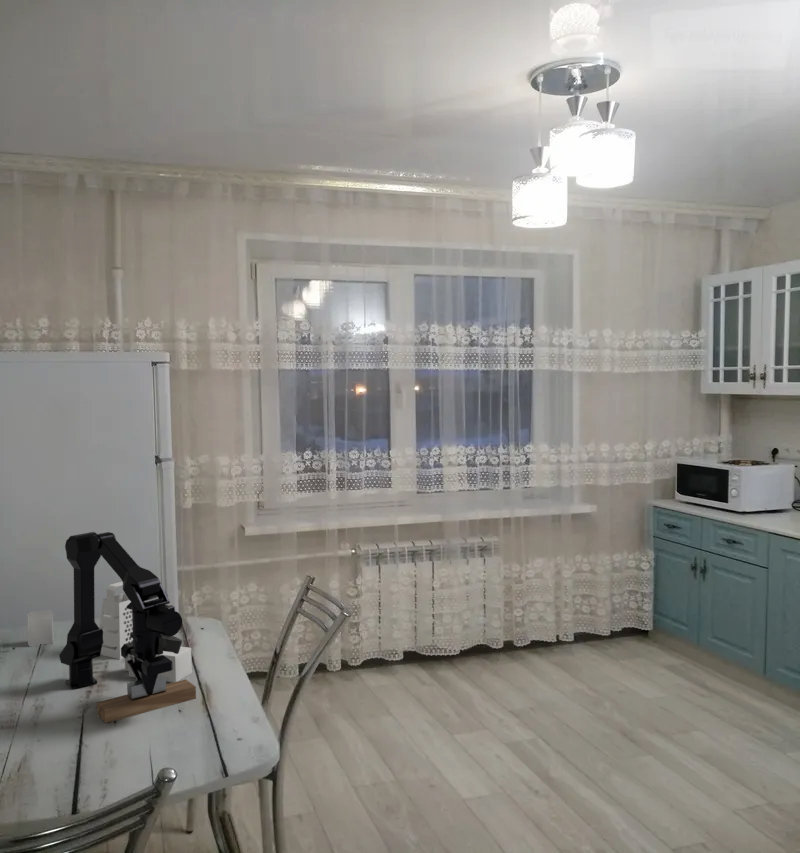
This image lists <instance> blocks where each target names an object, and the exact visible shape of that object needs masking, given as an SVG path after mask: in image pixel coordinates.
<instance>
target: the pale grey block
mask: <svg viewBox="0 0 800 853" xmlns="http://www.w3.org/2000/svg"><path fill="white" fill-rule="evenodd" d="M53 614H54V613H53V609H48V610H47V609H46V610H38V611H28V612H27V625H26V626H27V628H26V629H27V646H28V645H38V644H51V645H54V642H55V634H54V631H55V630H54V616H53ZM53 641H54V642H53Z"/></svg>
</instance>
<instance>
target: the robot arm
mask: <svg viewBox="0 0 800 853" xmlns="http://www.w3.org/2000/svg"><path fill="white" fill-rule="evenodd" d="M64 544H65V545H64V549H65V553H66V559H67V561H68V562H69V563H70V565H71V566H72V568H73V624H72V626H71V627H70V629H69V631H68V633H67V635H66V636H67V638H66V644H65V646H64V647H63V649H61V652H60V653H59V660H60V663H61V664H64V665H66V666H68V674H69V676H68V677H69V679H66V680H65V684H67V686H68V687H69V688H70V689H72V690H75V689H79V688H82V687H83V688H84V687H87V686H91V685H95V684H97V683H98V680H97V679H96V678H95V677H94V672H93V659H96V658H99V657H101V654H100V653H101V649H102V644H103V643H104V642H103V630H102V629H101V628H100V626H98V624H97V623H96V620H95V618H96V617H95V614H96V611H95V607H96V606H95V603H96V602H95V567H96V565H97V564H98V562H99V560H100V559H101V557H102V558H103V559H104V560H105V562H106V563H107V564H108V566H110V567H111V569H112V570H113V571H114V572H115V573H116V574H117V576H118V578H119V579H121V582H122V581H123V585H122V591H123V593H124V594H126V595H127V597H128V599H129V600H130V601H131V603H129V604H128V605H127V609H131V610H132V621H131V622H132V624H133V632H131V633H130V637H131V638H133V642H131V643H126V644H124V645H123V646H122V647H121V656H122V657H124V658H123V659H125V658H127V657H128V654H129V655H130V660H128V661H127V663H128V664H129V666H130V668H131V670H132V672H133V673H134V675H135V677H136V678H135V677H134V678H135V680H136V681H138V680H142V683H143V685H144V688H145V690H146V692H147V694H148V695H151V694H152V693H153V690H154V686H155V683H156V679H157V676H158V674H160V673H164V672H168V671H172V670H173V662H172V661H171V660H169V659H168V658H167V657H165V656H164V655H162V656H157V657H156V655H157V654H158V655H160V654H163V651H166V652H174V653H175V654H179V650H180V647H182V644H183V640H181V639H180V638H178V637H177V636H175V635H176V634H178V633H179V631H180V630H181V628H182V625H183V618H182V615H181V614H180V613H179V612H178V611H176V608H175V605H170V603H171V601H170V599H169V595H168V593H167V592H166V590H165V589H164V587H163V584H162V582H161V580H160V578H159V577H158V576H157V575H156V574H154V572H152V571H151V570H149V569H146V568H143V567H141V566H140V565H139V564H138V563H137V562H136V561H135V560H134V559H133V557H131V555H130V554H129V553H128V552H127V551H126V549H124V547H123V546H122V545H121V543H119V542H118V540H117V538H116V535H115V533H113V532H109V531H107V532H101V533H97V532H95V531H90V532H85V533H79V534H73V535H70V536H69V537H68V538H66V540H65V543H64Z"/></svg>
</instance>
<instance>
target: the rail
mask: <svg viewBox="0 0 800 853" xmlns="http://www.w3.org/2000/svg"><path fill="white" fill-rule="evenodd" d="M196 688H197V686H195V685H194V684H193V683H192V682H190V681H189V680H187V679H182V680H180V681H178V682H174V683H172V682H169V683H166V691H162V692H161V693H160V694H156V695H153V694H151V695H146V696H142V697H141V699H137V700H133V699H131V698H130V697H129V696H128V695H127V694H123V695H120V696H117V697H113V698H107V699H105V700H104V699H103V700H100V701H97V702H96V714H97V716H98V718H100V719H101V720H102V721H103V722H104V723H105V724H107V723H110V722H115V721H119V720H121V719H126V718H128V717H133V716H137V715H140V714H144V713H148V712H150V711H155V710H158V709H161V708H166V707H169V706H172V705H173V706H174V705H176V704H180V703H184V702H187V701H191V700H195V699H197V689H196Z"/></svg>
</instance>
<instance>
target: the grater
mask: <svg viewBox="0 0 800 853" xmlns="http://www.w3.org/2000/svg"><path fill="white" fill-rule="evenodd" d="M121 586H123V581H122V580H121V581H119V582H115V583H111V584H108V586H107V587H106V590H105V591H106V597H105V598H103V599H102V602H101V611H100V612H101V613H100V620H99V628H101V629H102V630H103V642H104V643H103V644H102V649H101V653H100V656H101V655H102V656H105V657H109V658H114V659H116V660H123V659H125V658H124V657H122V656H121V647H122V646H123V645H124V644H126V643H131V642H133V638H131V637H130V633H131V632H133V624H132V610H131V609H127V605H128V604H129V603H131V601H130V600H129V599H128V597H127V595H126V594H125V593H121V594H118V595H116V592H115V591H116V589H117V588H118V587H121ZM115 647H116V648H115ZM114 648H115V649H114Z"/></svg>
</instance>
